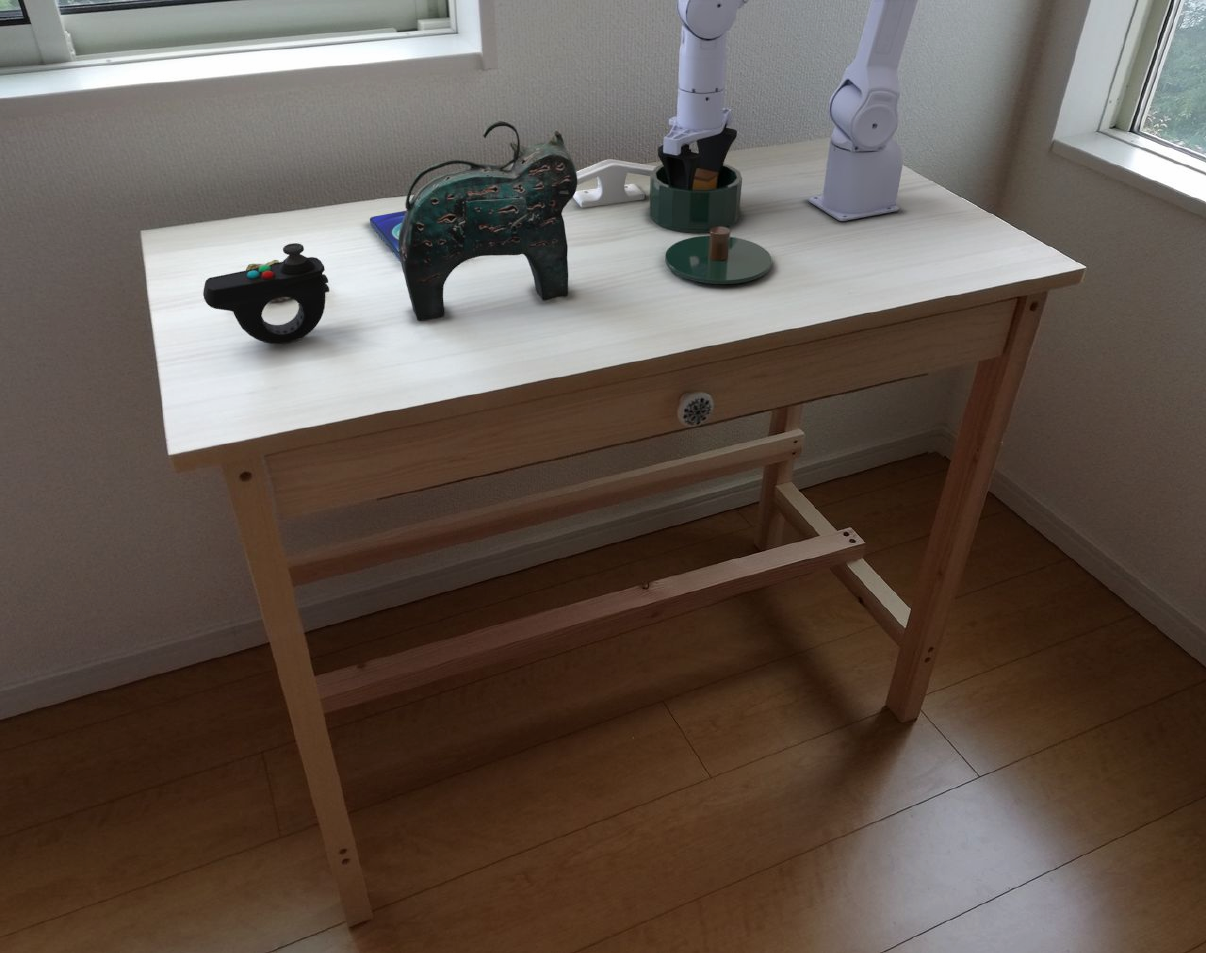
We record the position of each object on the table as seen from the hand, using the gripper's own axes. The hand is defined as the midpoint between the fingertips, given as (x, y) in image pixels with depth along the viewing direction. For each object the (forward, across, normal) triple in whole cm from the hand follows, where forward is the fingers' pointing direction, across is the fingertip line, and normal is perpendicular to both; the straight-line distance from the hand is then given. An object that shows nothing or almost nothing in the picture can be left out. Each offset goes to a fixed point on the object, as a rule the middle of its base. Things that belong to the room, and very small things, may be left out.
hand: (695, 193), depth 132 cm
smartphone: (+3, +26, -26) cm, 37 cm away
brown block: (+2, 0, 0) cm, 3 cm away
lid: (+2, +12, +10) cm, 16 cm away
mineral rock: (+3, +46, -31) cm, 56 cm away
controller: (+3, +54, -21) cm, 58 cm away
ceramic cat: (+3, +35, -6) cm, 36 cm away
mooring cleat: (+3, +1, -13) cm, 13 cm away
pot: (+3, 0, 0) cm, 3 cm away
